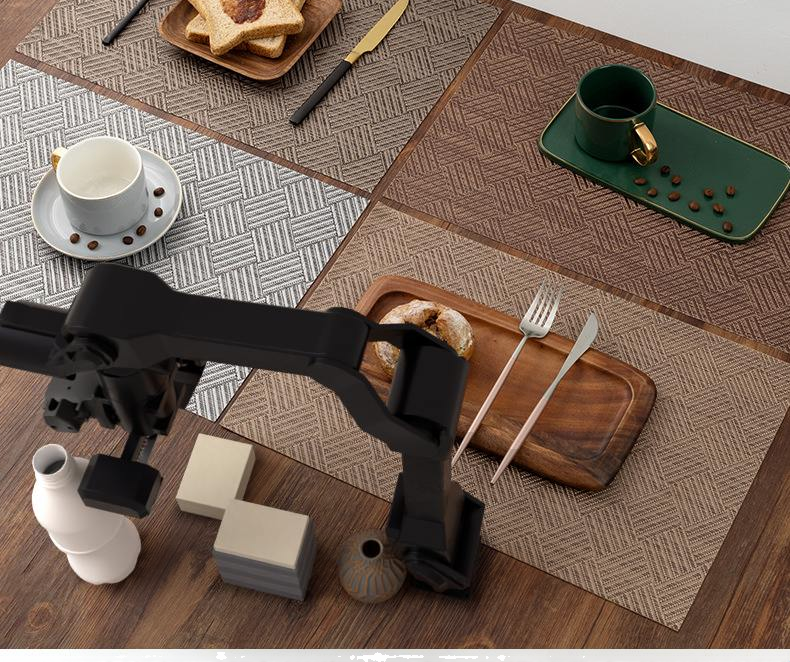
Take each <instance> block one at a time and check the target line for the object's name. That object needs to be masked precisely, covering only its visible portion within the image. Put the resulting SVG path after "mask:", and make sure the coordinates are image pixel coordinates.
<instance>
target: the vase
mask: <svg viewBox="0 0 790 662" xmlns="http://www.w3.org/2000/svg"><path fill="white" fill-rule="evenodd" d="M387 539H388V538H387V537H386V531H385V530H380V529H376V528H368V529H363V530H361V531H358V532H356V533H355V534H353V535H351V536H350V537H349V538H348V539H347V540H346V542H344V544H343V545H342V547H341V549H340V552H339V555H338V559H337V574H338V578H339V581H340V583H341V585H342V587H343V589H344V590H345V592H347V594H348V595H349V596H351V597H352V598H353V599H354V600H357V601H359V602H361V603H366V604H380V603H383V602H386V601H387V600H390V599H391V598H393V596H395V595H396V594H397V593H398V592H399V591H400V590H401V588H402V586H403V584H404V582H405V579H406V575H407V570H408V569H407V568H406V567H405V565H404V564H403V563H402V559H399V558H398V557H397V556H396V555H395V554H394V552H393V548H387V547H386V543H387Z"/></svg>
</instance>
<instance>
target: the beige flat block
mask: <svg viewBox="0 0 790 662" xmlns="http://www.w3.org/2000/svg"><path fill="white" fill-rule="evenodd" d="M309 518H310V516H309V515H306V514H302V513H297V512H293V511H288V510H284V509H281V508H276V507H271V506H267V505H262V504H258V503H255V502H254V503H253V502H249V501H245V500H242V501H241V500H237V499H232V498H230V499H229V502H228V505H227V508H226V511H225V514H224V517H223V520H221V523H220V526H219V529H218V531H217V535H216V538H215V541H214V544H213V548H214V549H215V551H219V552H223V553H228V554H232V555H236V556H240V557H245V558H249V559H253V560H257V561H261V562H266V563H270V564H274V565H278V566H283V567H287V568H291V569H296V565H297V562H298V558H299V555H300V551H301V548H302V545H303V541H304V538H305V534H306V531H307V527H308V524H309Z"/></svg>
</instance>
